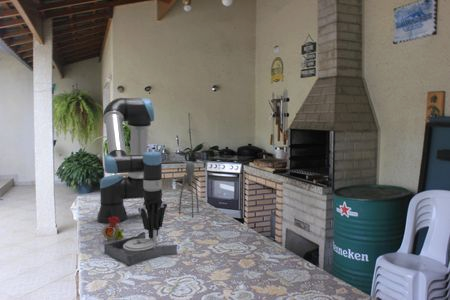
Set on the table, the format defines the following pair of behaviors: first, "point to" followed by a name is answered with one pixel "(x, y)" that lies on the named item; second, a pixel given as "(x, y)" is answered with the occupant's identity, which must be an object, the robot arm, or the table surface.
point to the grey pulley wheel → (138, 246)
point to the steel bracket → (115, 252)
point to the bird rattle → (110, 231)
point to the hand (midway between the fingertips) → (153, 244)
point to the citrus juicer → (189, 176)
